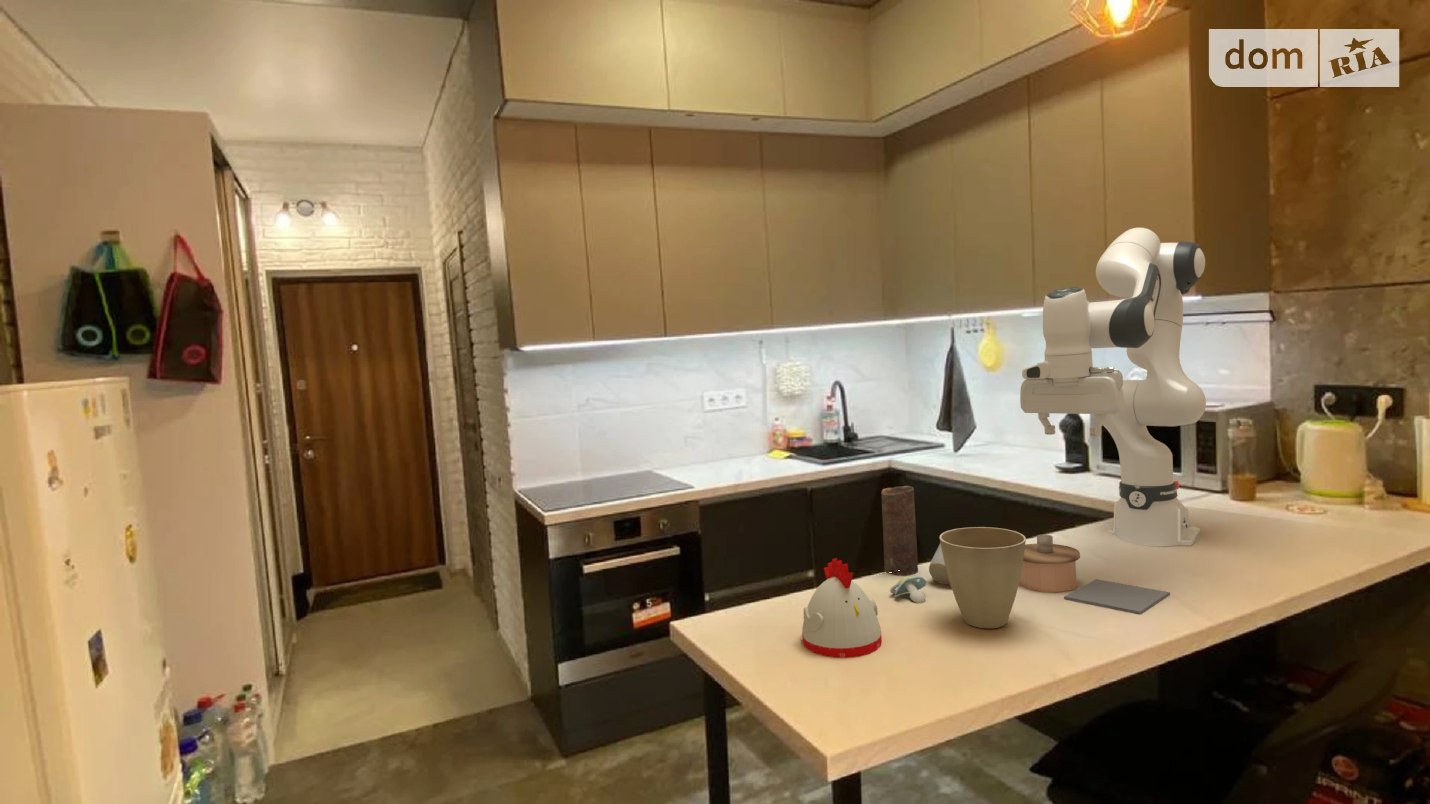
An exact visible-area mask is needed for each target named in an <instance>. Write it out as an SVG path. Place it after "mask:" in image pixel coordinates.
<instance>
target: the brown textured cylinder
mask: <svg viewBox="0 0 1430 804" xmlns="http://www.w3.org/2000/svg"><path fill="white" fill-rule="evenodd" d="M915 506H916V505H915V489H914V487H913V486H910V485H904V486H894V487H887V488H885V487H884V488H883V489H882V490H881V510H882V511H881V513H882V514H881V516H882V530H883V531H882V535H883V536H882V537H883V562H884V572H885V573H887V574H888V573H889V572H892V573H889V575H892V576H902V577H903V576H904V577H907V576H911V575H916V573H918V572H919V569H918V568H919V565H918V564H919V560H918V559H919V558H918V545H917V544H918V543H917V527H916V524H917V523H916V507H915ZM898 570H900V571H898Z"/></svg>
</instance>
